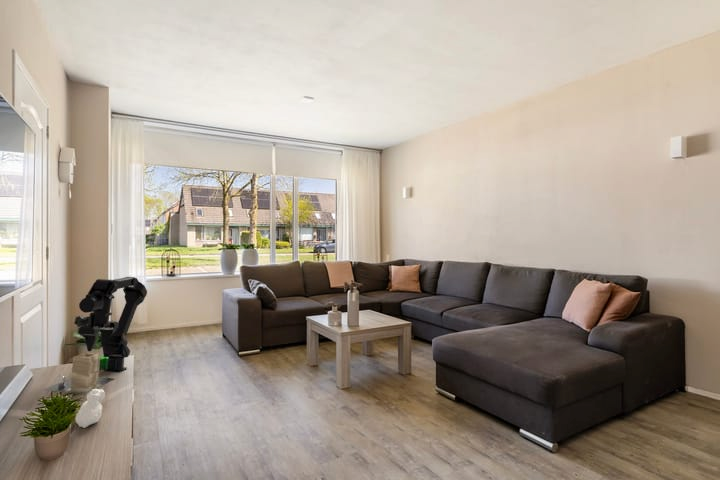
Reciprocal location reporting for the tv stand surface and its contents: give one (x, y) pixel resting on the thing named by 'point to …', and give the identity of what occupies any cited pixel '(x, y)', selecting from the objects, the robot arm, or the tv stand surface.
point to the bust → (90, 408)
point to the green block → (103, 362)
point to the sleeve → (85, 371)
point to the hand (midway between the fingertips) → (96, 349)
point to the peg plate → (66, 385)
